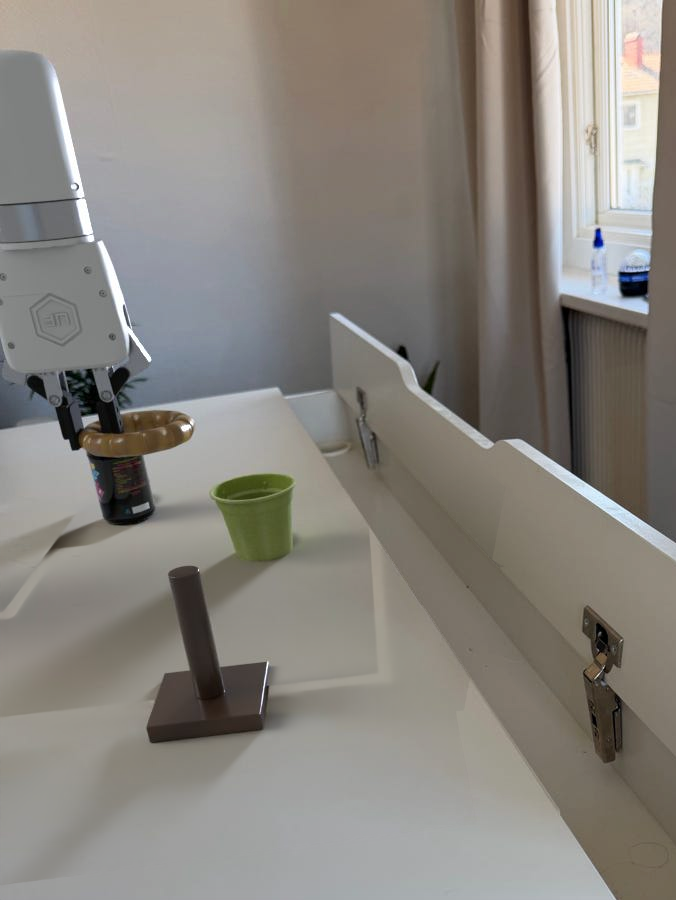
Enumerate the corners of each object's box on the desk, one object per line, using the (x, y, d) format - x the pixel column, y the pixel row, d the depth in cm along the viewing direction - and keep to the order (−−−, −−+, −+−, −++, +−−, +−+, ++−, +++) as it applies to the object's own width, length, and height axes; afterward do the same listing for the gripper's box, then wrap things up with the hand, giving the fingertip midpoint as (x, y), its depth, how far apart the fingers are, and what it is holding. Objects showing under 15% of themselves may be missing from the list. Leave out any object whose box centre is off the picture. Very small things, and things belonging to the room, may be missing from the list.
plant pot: (240, 582, 106) (225, 506, 102) (213, 557, 113) (198, 485, 109) (320, 560, 110) (308, 486, 106) (288, 537, 117) (276, 467, 113)
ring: (71, 464, 84) (65, 442, 83) (95, 434, 93) (90, 413, 92) (188, 453, 85) (184, 430, 84) (202, 424, 94) (198, 403, 93)
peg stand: (149, 743, 78) (112, 601, 72) (167, 687, 86) (135, 556, 80) (263, 729, 79) (235, 588, 73) (271, 675, 86) (246, 544, 81)
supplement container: (133, 505, 132) (115, 429, 127) (168, 512, 129) (150, 434, 124) (92, 522, 127) (72, 443, 122) (127, 529, 124) (107, 448, 119)
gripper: (-76, 237, 76) (-8, 465, 85) (134, 221, 78) (180, 447, 86) (-44, 230, 83) (17, 442, 91) (149, 216, 84) (191, 426, 93)
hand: (96, 443), depth 89 cm, fingers closed on ring, 2 cm apart
